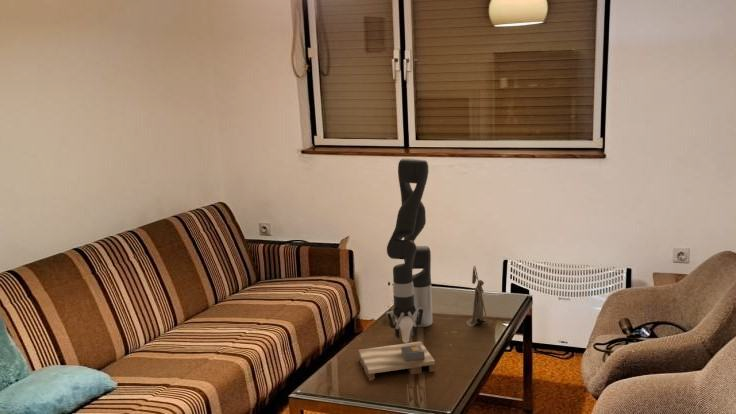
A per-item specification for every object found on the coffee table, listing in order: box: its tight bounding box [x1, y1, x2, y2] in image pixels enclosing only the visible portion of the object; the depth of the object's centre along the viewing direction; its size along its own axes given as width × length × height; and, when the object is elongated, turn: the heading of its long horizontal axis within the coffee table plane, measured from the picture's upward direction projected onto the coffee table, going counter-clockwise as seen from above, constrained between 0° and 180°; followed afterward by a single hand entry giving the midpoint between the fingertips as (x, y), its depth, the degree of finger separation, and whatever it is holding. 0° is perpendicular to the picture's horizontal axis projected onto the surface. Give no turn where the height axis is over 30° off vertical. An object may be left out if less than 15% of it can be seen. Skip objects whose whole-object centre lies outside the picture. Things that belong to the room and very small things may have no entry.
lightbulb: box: [399, 316, 414, 344], centre depth 263 cm, size 6×6×11 cm
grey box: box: [401, 345, 425, 362], centre depth 256 cm, size 6×7×3 cm
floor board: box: [358, 340, 436, 381], centre depth 260 cm, size 18×24×4 cm
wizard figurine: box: [466, 265, 489, 327], centre depth 293 cm, size 10×8×25 cm
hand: (405, 336), depth 263 cm, fingers closed on lightbulb, 5 cm apart
